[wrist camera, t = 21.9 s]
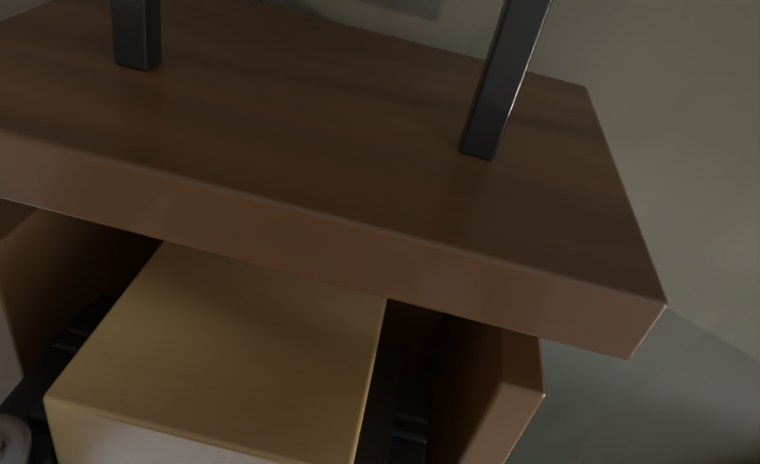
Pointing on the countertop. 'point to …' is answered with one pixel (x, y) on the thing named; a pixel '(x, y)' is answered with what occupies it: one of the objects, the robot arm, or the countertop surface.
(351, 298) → the block
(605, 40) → the countertop surface
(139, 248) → the drawer
